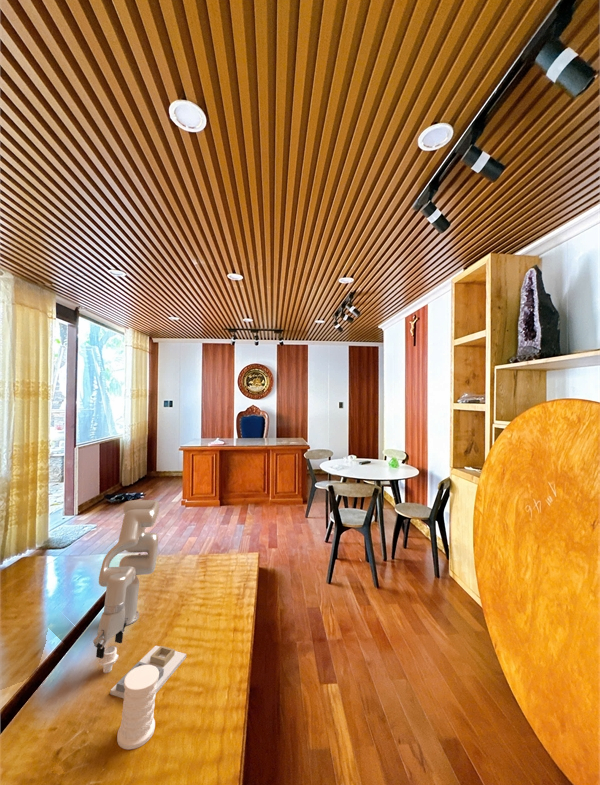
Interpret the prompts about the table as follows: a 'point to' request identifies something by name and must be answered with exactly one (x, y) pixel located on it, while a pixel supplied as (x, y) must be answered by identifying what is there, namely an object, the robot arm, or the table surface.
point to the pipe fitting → (108, 658)
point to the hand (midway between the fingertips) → (109, 649)
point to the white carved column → (138, 707)
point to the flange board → (161, 659)
